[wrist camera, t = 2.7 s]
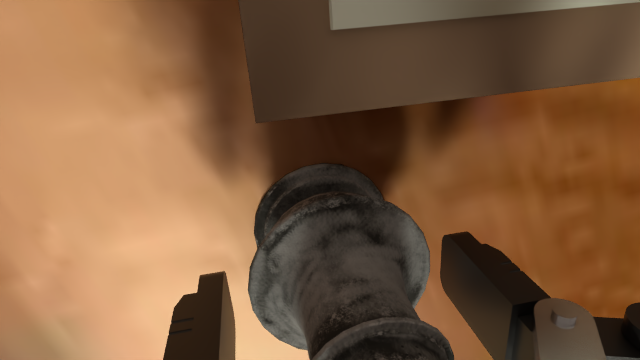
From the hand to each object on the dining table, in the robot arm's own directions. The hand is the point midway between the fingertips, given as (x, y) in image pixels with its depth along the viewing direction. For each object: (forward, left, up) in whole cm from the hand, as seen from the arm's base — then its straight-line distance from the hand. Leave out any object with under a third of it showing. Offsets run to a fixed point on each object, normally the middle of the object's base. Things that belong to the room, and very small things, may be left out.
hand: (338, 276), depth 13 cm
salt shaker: (0, 0, -4) cm, 4 cm away
